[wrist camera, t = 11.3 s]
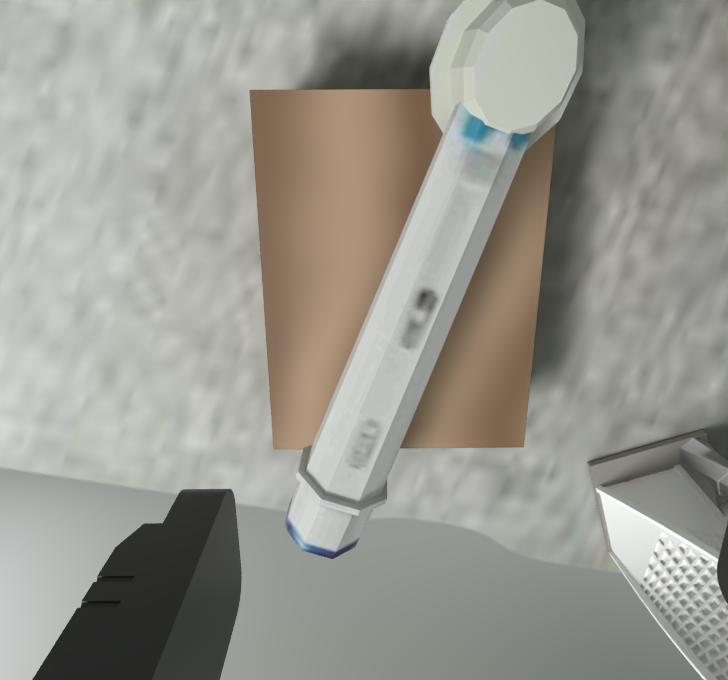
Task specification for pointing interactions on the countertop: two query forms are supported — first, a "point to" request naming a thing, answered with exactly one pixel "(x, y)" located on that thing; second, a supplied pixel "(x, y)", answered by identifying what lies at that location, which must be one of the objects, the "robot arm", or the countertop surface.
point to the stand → (385, 262)
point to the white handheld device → (436, 249)
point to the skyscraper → (671, 539)
